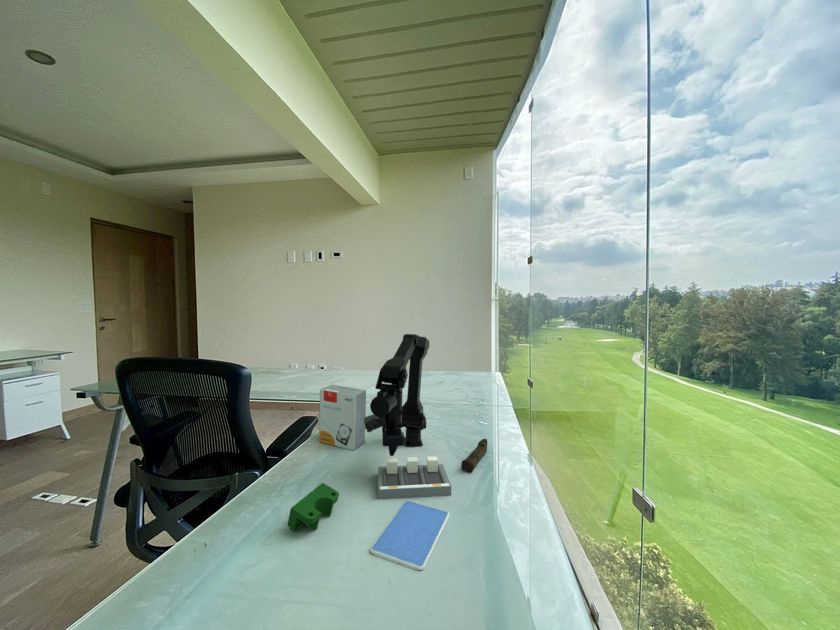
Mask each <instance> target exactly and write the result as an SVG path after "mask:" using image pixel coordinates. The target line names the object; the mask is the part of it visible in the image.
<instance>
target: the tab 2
mask: <svg viewBox="0 0 840 630" xmlns="http://www.w3.org/2000/svg"><path fill="white" fill-rule="evenodd" d="M418 465H419V460H418V457H417V456H411V457H410V456H409V457H406V466H407V473H418Z"/></svg>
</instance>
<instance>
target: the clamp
mask: <svg viewBox="0 0 840 630" xmlns="http://www.w3.org/2000/svg"><path fill="white" fill-rule="evenodd" d="M339 496H340V493H339V491H338V490H336V489H334V488H333V487H330V486H329V485H327V484H326V483H324V482H322V483H320V484H319V485H318V486H317V487H316V488H314V489H313V490H312V491H310V492H309V493H308V494H307V495H305V496H304V497H302V498H301V499H300V500H299V501H298V502H297V503H295V504H294V505H293V506H292V507H290V510H289V511H290V512H289V516H288V520H287V525H286V526H287V527H288V528H290V529H291V530H293V531H295V532H296V531H298V530H299V529H300V528H301V527H302V526H303V525H306V526H307V527H309V528H311V529H312V530H314V531H317V530H318V528H319V527H318V526H319V523H320V518H321V515H326V516H327V517H329V518H330V517H331V516H332V511H333V508H334V505H335V504H336V503H337V502H338V500H339Z"/></svg>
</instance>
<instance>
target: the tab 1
mask: <svg viewBox="0 0 840 630" xmlns="http://www.w3.org/2000/svg"><path fill="white" fill-rule="evenodd" d="M386 466H387V474H397V466H399V465H398V457H387V458H386Z"/></svg>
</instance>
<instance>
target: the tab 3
mask: <svg viewBox="0 0 840 630" xmlns="http://www.w3.org/2000/svg"><path fill="white" fill-rule="evenodd" d="M438 464H439V459H438V456H426V465H427V471H428V472H438Z"/></svg>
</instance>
